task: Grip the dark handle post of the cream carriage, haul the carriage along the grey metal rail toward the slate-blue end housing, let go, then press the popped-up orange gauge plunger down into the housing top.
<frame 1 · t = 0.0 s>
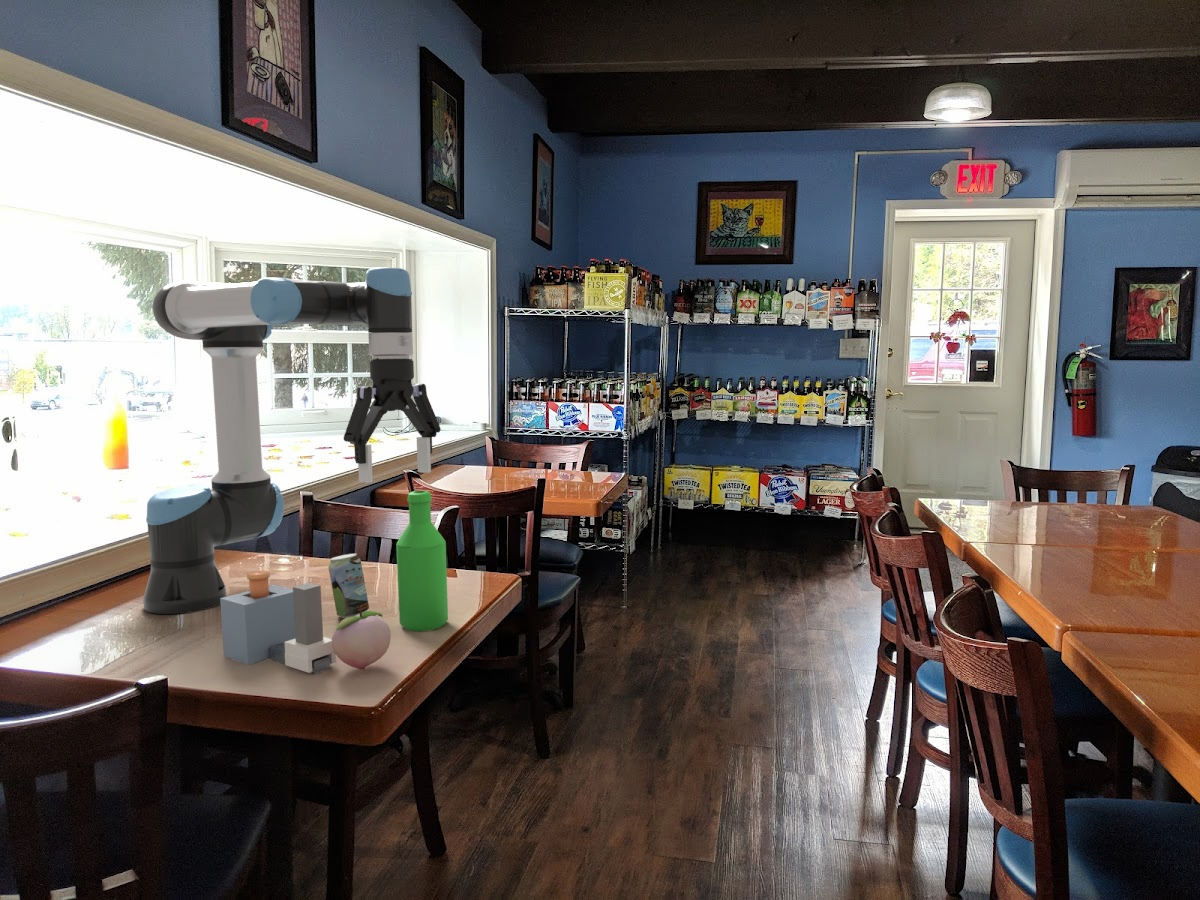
hand: (396, 477, 153), 28 cm above the table, fingers open, 13 cm apart
housing: (263, 651, 145), on the table
beverage can: (350, 617, 164), on the table
rail: (299, 663, 139), on the table
bottle: (424, 626, 158), on the table
plunger: (259, 588, 144), point 11 cm above the table, slide at 0.0 cm
decorative fruit: (365, 670, 136), on the table
carriage: (308, 625, 137), point 7 cm above the table, slide at 0.0 cm
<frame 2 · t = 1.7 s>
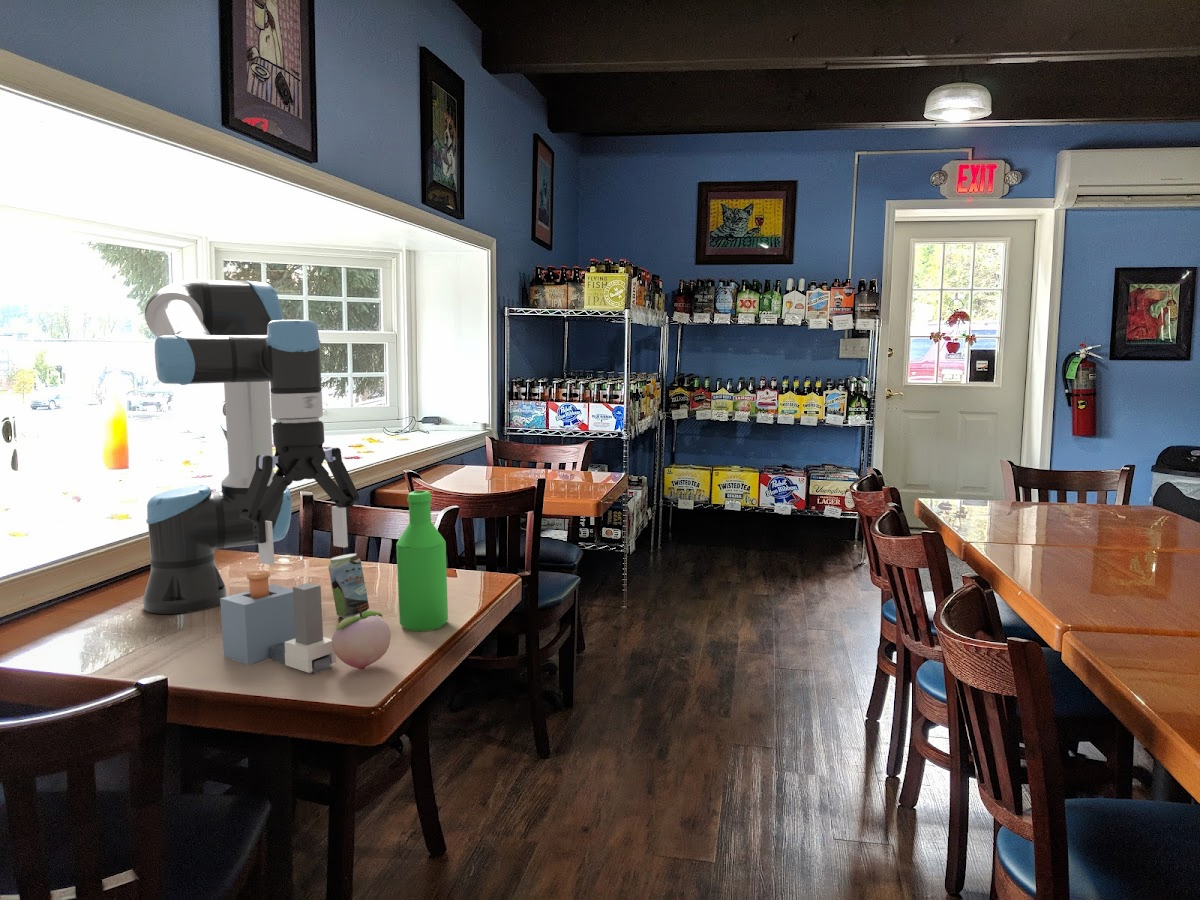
hand: (305, 554, 135), 19 cm above the table, fingers open, 13 cm apart
nothing on the table moved.
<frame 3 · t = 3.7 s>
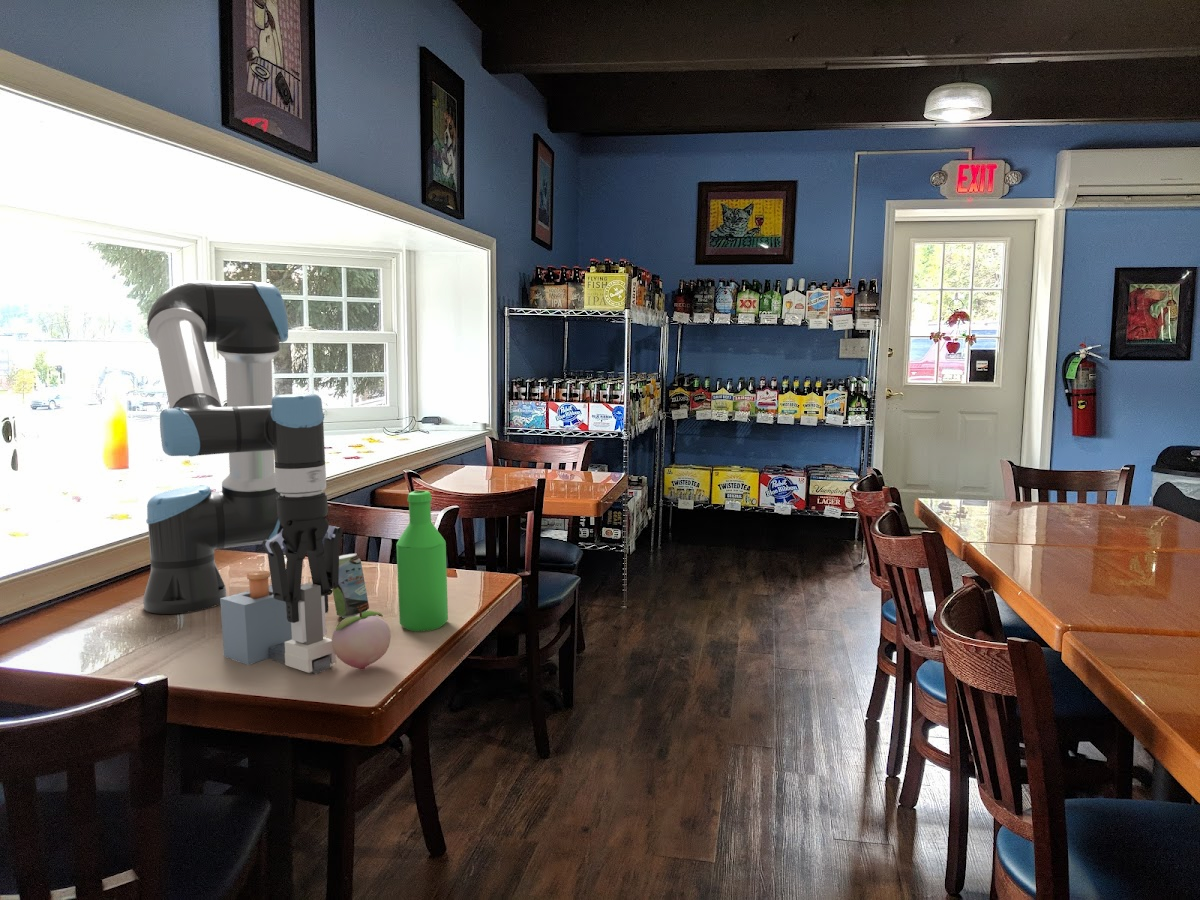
hand: (309, 637, 137), 5 cm above the table, fingers closed on carriage, 3 cm apart
carriage: (308, 625, 137), point 7 cm above the table, slide at 0.0 cm, touching gripper
everything else where it was.
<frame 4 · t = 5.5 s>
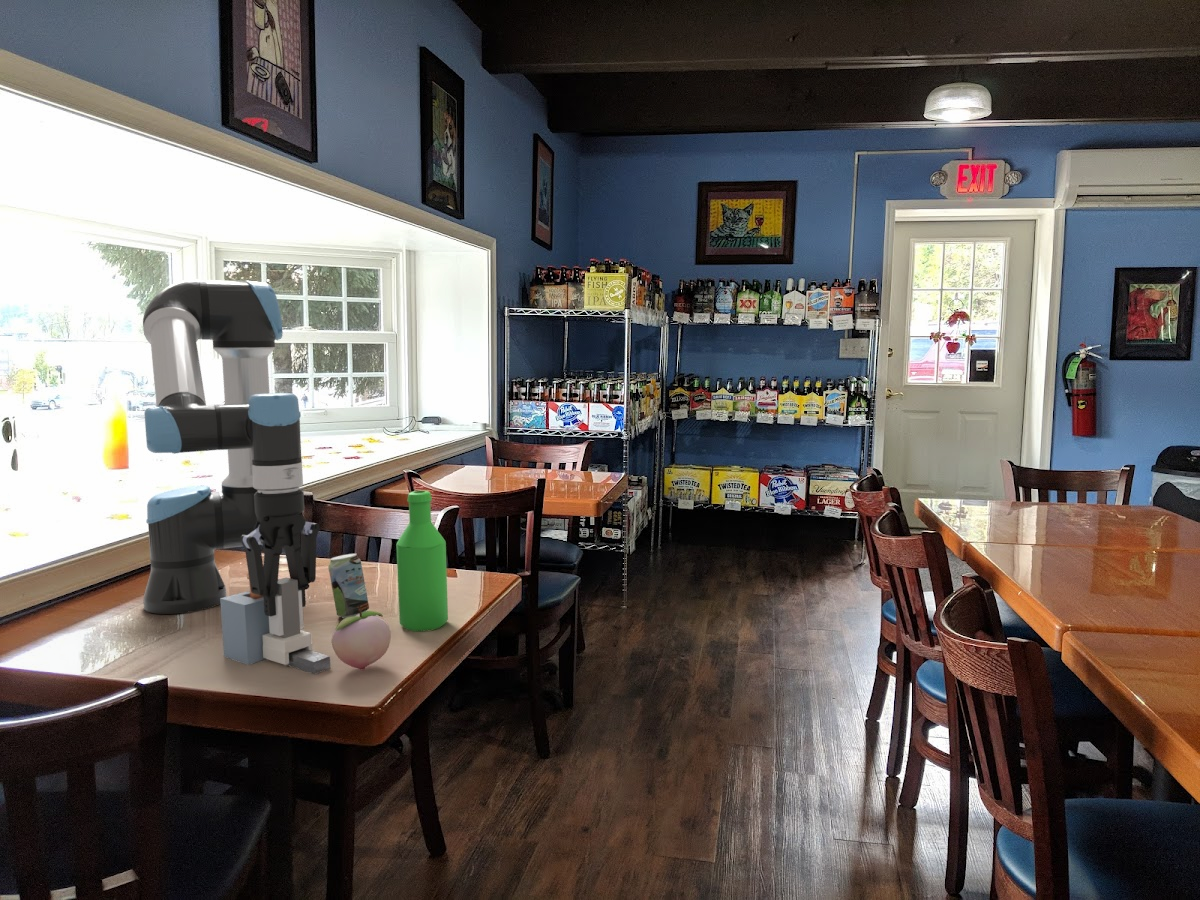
hand: (286, 630, 140), 5 cm above the table, fingers closed on carriage, 3 cm apart
carriage: (286, 618, 140), point 7 cm above the table, slide at 6.0 cm, touching gripper
everything else where it was.
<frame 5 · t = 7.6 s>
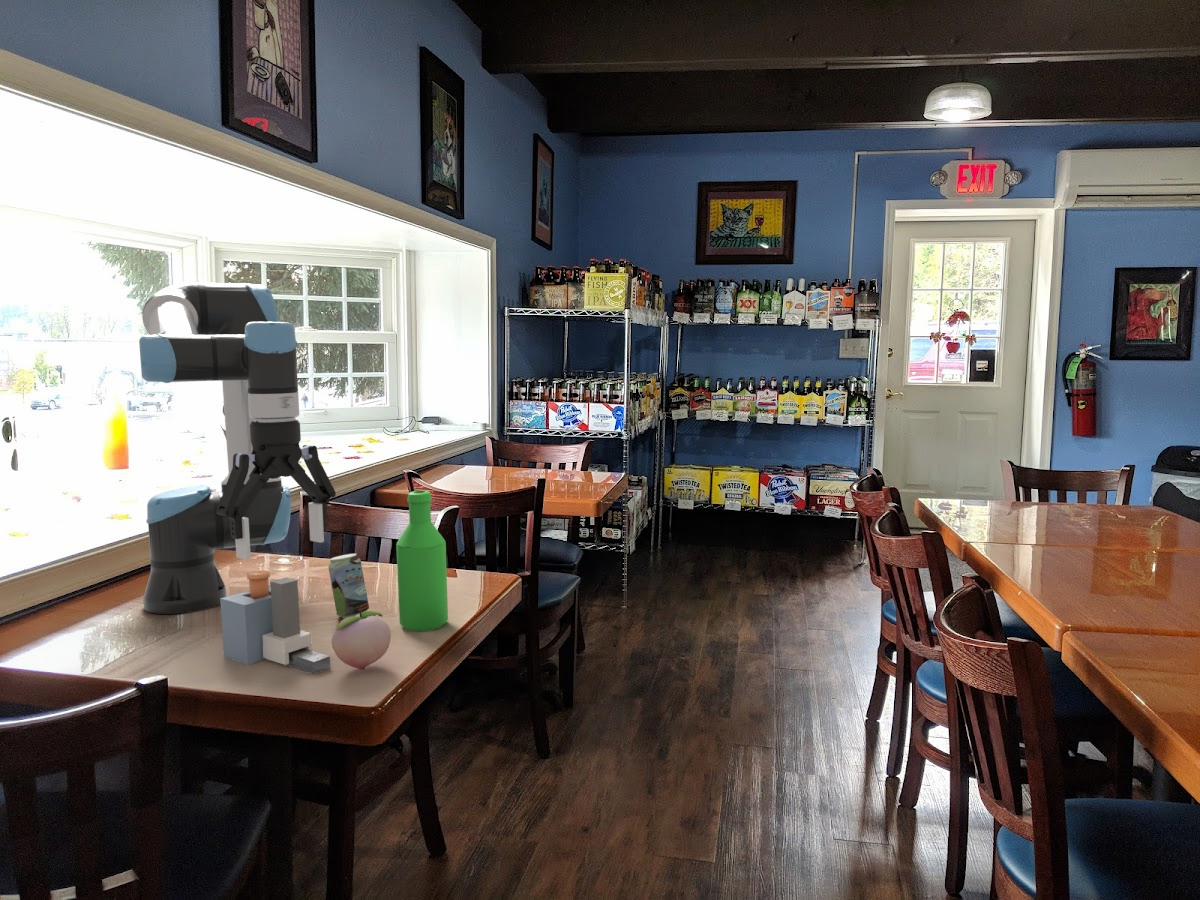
hand: (281, 549, 139), 19 cm above the table, fingers open, 13 cm apart
carriage: (286, 618, 140), point 7 cm above the table, slide at 6.0 cm
everything else where it was.
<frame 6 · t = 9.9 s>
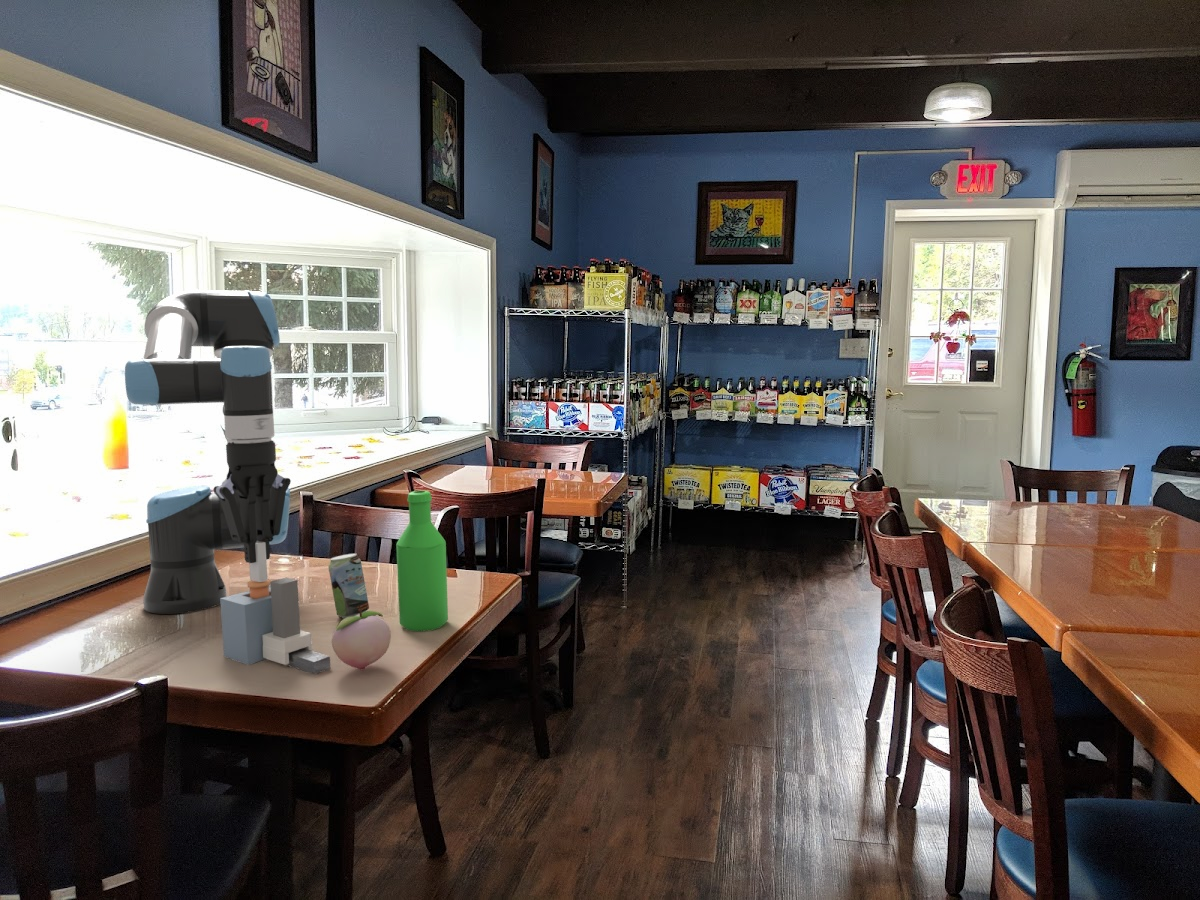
hand: (258, 580, 143), 12 cm above the table, fingers closed
plunger: (259, 595, 144), point 10 cm above the table, slide at 1.4 cm, touching gripper
everything else where it was.
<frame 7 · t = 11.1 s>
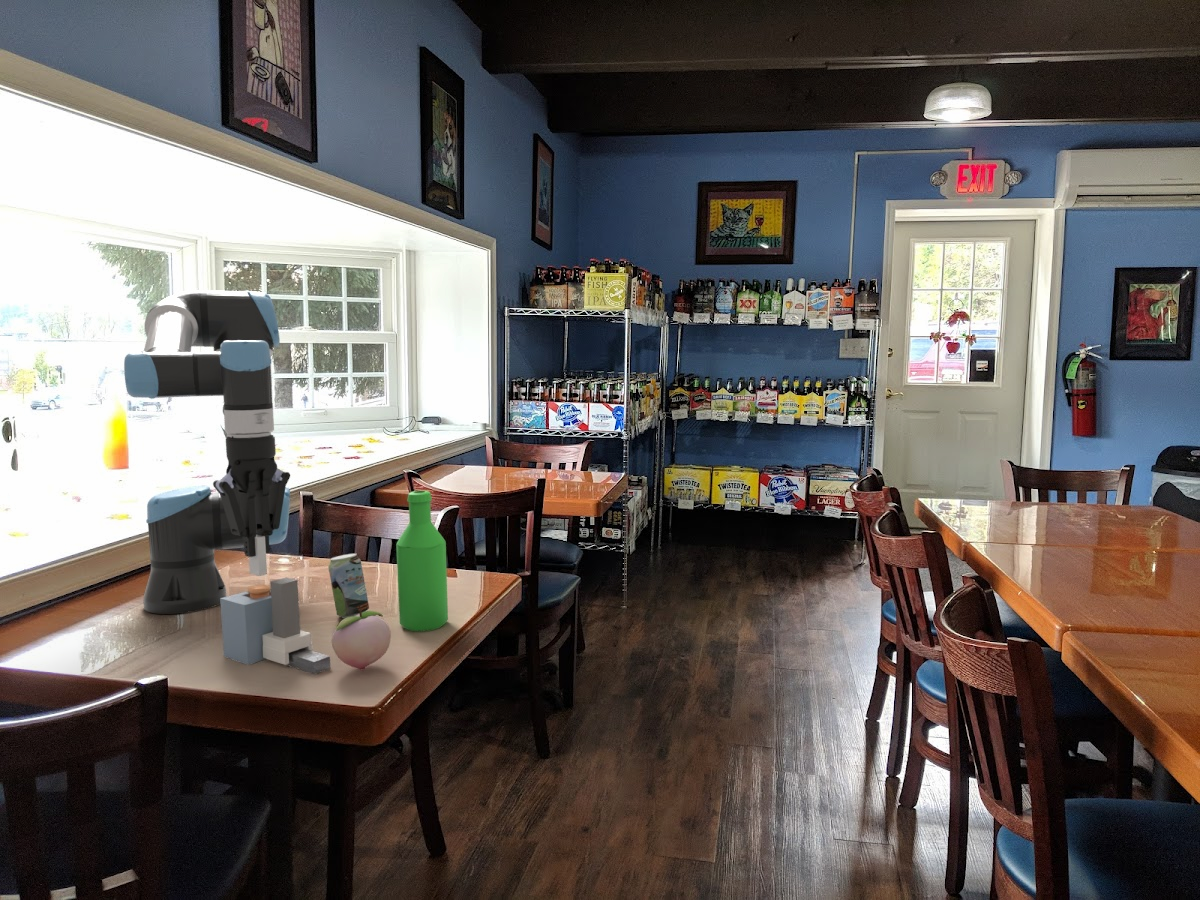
hand: (258, 573, 144), 13 cm above the table, fingers closed
plunger: (260, 601, 144), point 9 cm above the table, slide at 2.4 cm
everything else where it was.
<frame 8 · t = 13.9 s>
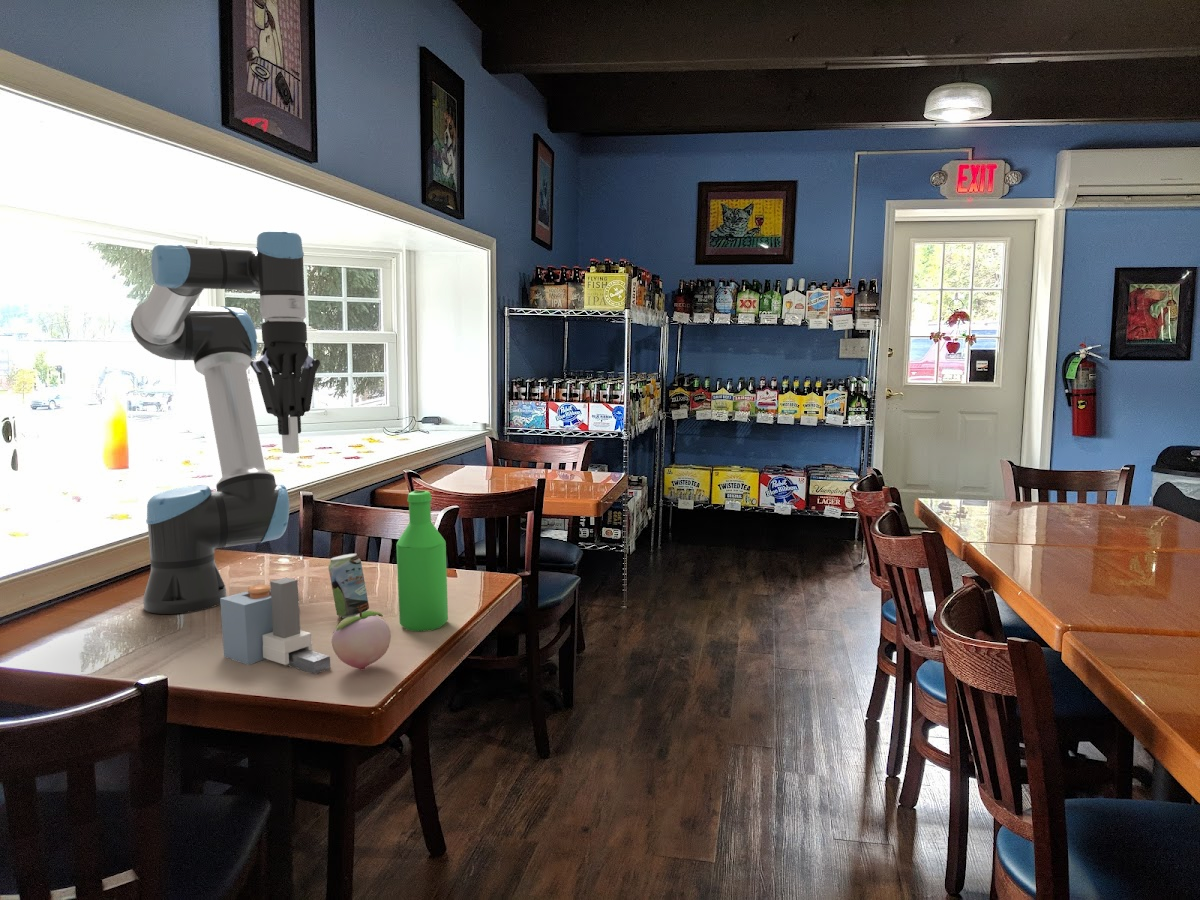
hand: (290, 452, 154), 32 cm above the table, fingers closed
nothing on the table moved.
at the end: carriage slide at 6.0 cm; plunger slide at 2.4 cm; the gripper is holding nothing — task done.
